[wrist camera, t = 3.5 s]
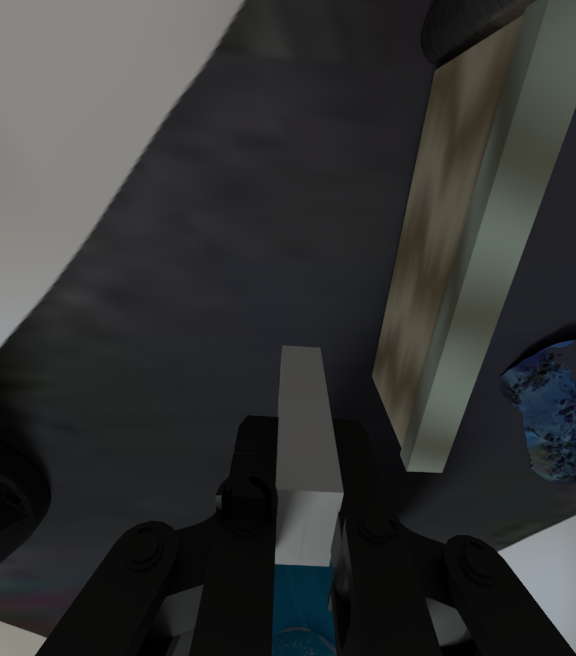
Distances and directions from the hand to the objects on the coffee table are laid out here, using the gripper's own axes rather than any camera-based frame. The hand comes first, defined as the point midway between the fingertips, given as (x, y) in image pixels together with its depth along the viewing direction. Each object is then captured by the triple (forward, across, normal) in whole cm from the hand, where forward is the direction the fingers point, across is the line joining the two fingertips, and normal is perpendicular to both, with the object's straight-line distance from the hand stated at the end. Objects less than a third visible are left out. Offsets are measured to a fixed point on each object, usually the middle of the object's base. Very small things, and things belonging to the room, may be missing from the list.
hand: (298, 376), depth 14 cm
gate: (+11, +8, +3) cm, 14 cm away
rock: (+14, +27, -10) cm, 32 cm away
